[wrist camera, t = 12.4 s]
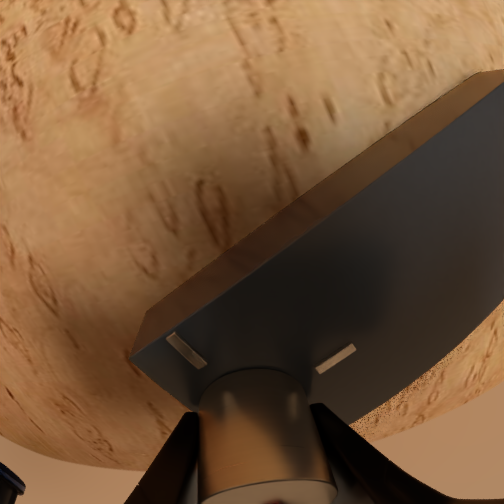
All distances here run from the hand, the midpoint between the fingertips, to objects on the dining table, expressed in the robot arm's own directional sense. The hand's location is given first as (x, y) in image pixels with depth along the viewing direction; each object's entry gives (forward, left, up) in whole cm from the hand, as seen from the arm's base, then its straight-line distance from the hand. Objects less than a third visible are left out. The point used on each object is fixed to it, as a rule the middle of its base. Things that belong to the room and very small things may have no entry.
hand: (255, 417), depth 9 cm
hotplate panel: (+1, -6, -4) cm, 7 cm away
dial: (0, 0, 0) cm, 0 cm away
